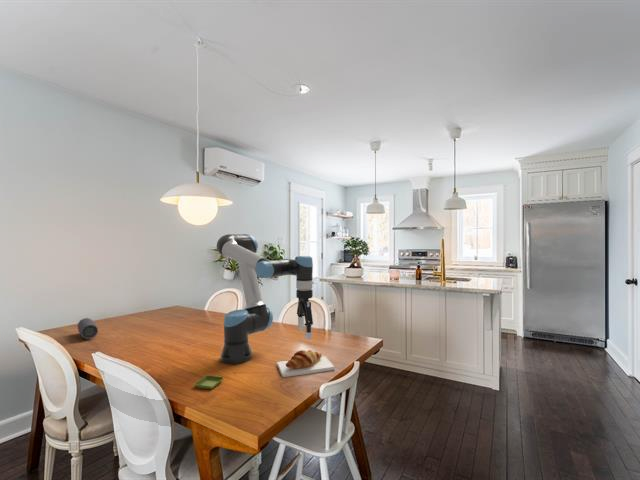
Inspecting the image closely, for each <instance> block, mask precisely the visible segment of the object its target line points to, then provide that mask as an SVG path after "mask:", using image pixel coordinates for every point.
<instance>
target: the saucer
mask: <svg viewBox="0 0 640 480" xmlns="http://www.w3.org/2000/svg"><path fill="white" fill-rule="evenodd" d="M224 378H225V377H224V376H218V375H209V374H208V375H207V374H206V375H204V376H203V377H202V378H200V379H199V380H197V381H195V382H194V384H193V385H194V386H195V387H196V388H198V387H199V389H207V390H213V389H214V388H216V387H217V386H218V385H219V384H221V383H222V381H223V380H224Z"/></svg>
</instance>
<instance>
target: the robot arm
mask: <svg viewBox="0 0 640 480" xmlns="http://www.w3.org/2000/svg"><path fill="white" fill-rule="evenodd" d="M258 249H259V244H258V242H257V239H256V237H254V235H251V234H246V233H245V234H244V233H243V234H242V233H241V234H239V233H237V234H233V233H232V234H229V233H228V234H224V235H222V236H220V238H219V239H218V240H217V242H216V251H217V252H218V254H219V255H221V256H222V257H224V258H225V259H232V260H234V261H235V262H236V263H237V264H238V270H239V275H240V278H241V279H240V280H241V284H242V285H241V286H242V291H243V294H244V299H245V307H244V308H243V309H236V310H235V309H234V310H232V311H229V312H228V313H226V314H225V315H224V317H223V318H224V319H223V334H224V335H223V336H224V337H223V343H224V344H223V347H222V350H221V353H220V361H221V362H222V363H223V364H227V365H238V364H243V363H247V362H249V361H250V360H251V359H252V358H253V353H252V349H251V347H250V343H249V335H252V334H255V333H256V334H257V333H259V332H263V331H265V330H268V329H270V328H271V326H272V323H273V320H274V315H273V314H274V313H273V312H272V310H271V308H269V307H267V304H266V303H265V302H264V301H263V299H262V293H261V290H260V289H261V288H260V284H259V280H258V278H260V279H269V278H275V277H282V276H296V278H295V279H296V281H295V282H296V283H295V285H296V288H295V289H296V290H295V291H296V292H295V293H296V294H295V295H296V298H297V299H298V301H297V308H296V309H297V310H296V315H297V331H298V332H302V331H304V339H305V340H306V341H307V340H312V325H313V324H314V320H313V313H312V302H310V300H309V299H312V298H313V293H314V292H313V284H314V280H313V271H314V270H313V269H314V264H313V261H314V260H313V257H312V256H310V255H298V256H296V259H292V258H291V259H290V258H281V259H276V260H275V259H274V260H272V259H271V260H270V259H268V258H266V257H264V256H262V255H260V254H258V253H257V252H258Z"/></svg>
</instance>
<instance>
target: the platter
mask: <svg viewBox="0 0 640 480" xmlns="http://www.w3.org/2000/svg"><path fill="white" fill-rule="evenodd" d="M288 361H289V360H284V361H281V360H280V361H277V362H276V366H277V368H278V370H279V373H280V375H281V377H282V378H286V377H287V378H288V377H293V376H294V377H295V376H301V375H310V374H316V373H323V372H330V371H335V369H336V367H335V366H334V364H333V363H332V362H331V361H330V360H329V359H328V357H327V356H326V355H322V357H321V358H320V359H319V360H318V361H317V362H315V363H314V364H313V365H312V366H308V367H305V368H299V369H294V368H288V367H286V363H287V362H288Z"/></svg>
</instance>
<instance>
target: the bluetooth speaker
mask: <svg viewBox="0 0 640 480" xmlns="http://www.w3.org/2000/svg"><path fill="white" fill-rule="evenodd" d="M77 329H78V330H77V331H78V333H79V334H80V336H81V337H82V338H84V339H85V340H86V339H87V340H88V339H93V338H95V336H97V335H98V331H99V328H98V325H97V324H96V322H95V321H94V320H93V319H91V318H88V317H86V318H82V319H80V321H79V322H78V323H77Z"/></svg>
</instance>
